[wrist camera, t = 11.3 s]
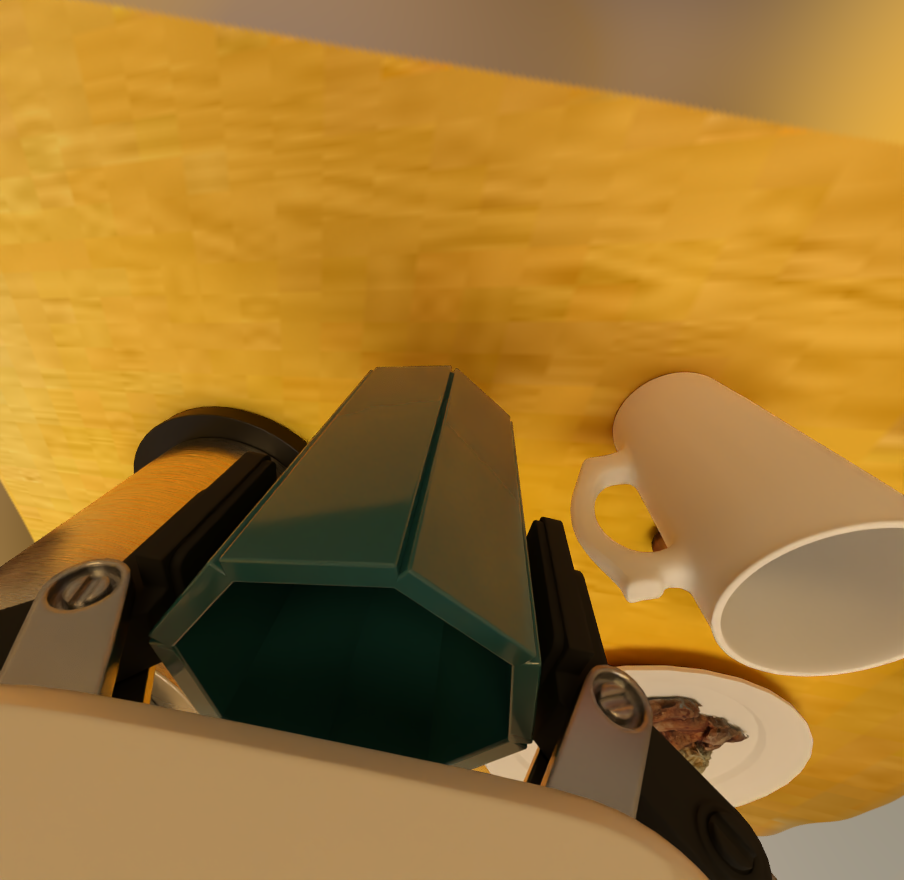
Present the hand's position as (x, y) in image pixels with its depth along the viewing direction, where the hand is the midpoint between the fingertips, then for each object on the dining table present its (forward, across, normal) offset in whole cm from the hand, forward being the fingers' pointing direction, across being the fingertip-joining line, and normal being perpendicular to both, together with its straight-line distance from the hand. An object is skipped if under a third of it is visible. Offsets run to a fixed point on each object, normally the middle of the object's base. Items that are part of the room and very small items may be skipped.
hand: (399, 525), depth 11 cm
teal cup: (+4, 0, 0) cm, 4 cm away
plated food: (+12, -26, +33) cm, 43 cm away
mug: (+12, -12, 0) cm, 17 cm away
